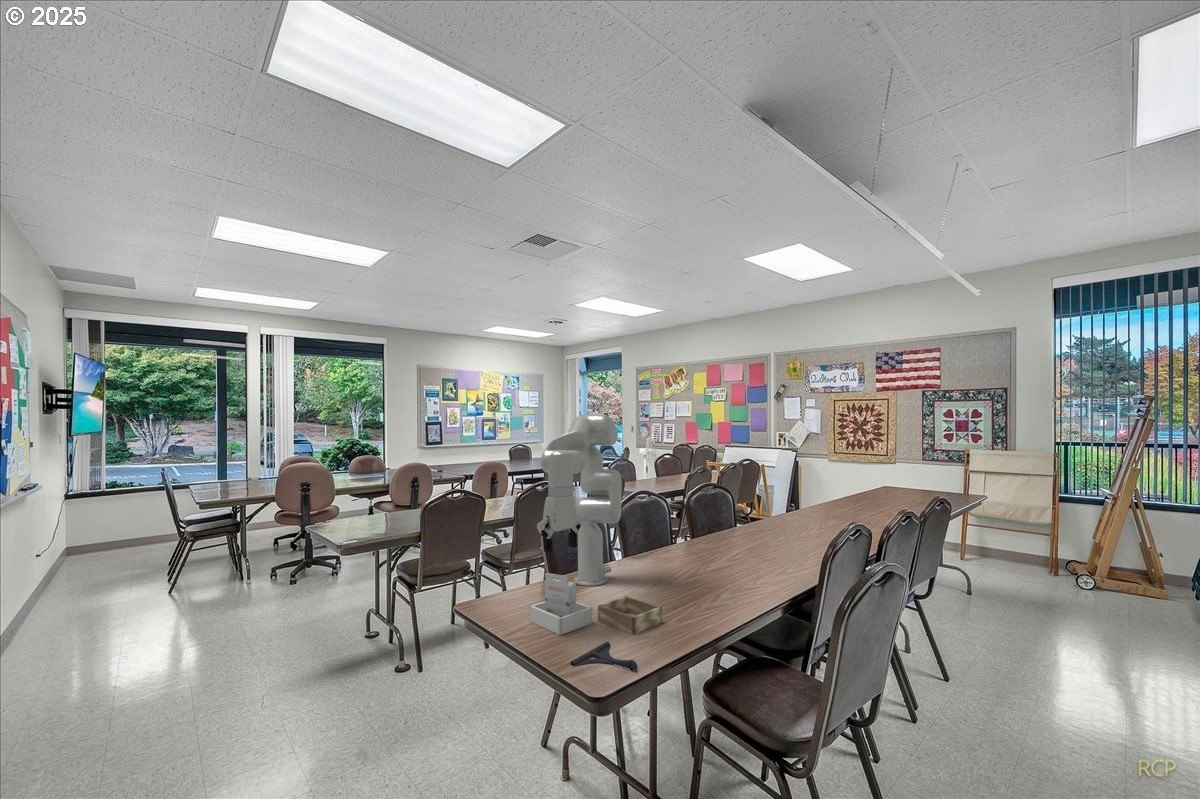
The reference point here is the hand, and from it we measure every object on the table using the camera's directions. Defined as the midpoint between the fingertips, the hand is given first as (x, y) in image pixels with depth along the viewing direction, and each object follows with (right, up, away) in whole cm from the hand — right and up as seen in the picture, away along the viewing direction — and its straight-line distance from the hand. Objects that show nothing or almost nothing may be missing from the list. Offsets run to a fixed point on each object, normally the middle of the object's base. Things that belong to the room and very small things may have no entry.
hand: (560, 549), depth 154 cm
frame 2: (+21, -22, -1) cm, 30 cm away
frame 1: (0, -22, -1) cm, 22 cm away
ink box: (0, -22, -1) cm, 22 cm away
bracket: (+15, -21, -27) cm, 37 cm away
